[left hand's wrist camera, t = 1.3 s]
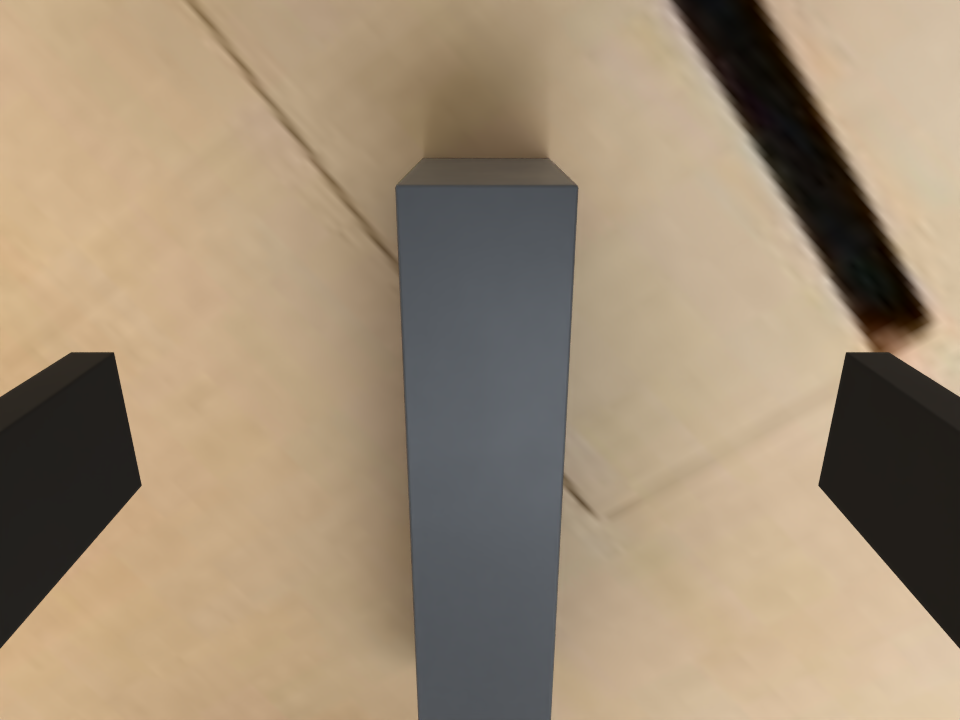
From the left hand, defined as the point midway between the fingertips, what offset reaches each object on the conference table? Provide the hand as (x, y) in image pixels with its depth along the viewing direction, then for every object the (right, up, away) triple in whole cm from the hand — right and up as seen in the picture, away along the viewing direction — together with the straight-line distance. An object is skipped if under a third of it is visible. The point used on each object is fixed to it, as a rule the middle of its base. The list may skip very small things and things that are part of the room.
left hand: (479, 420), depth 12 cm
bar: (0, -3, +17) cm, 17 cm away
